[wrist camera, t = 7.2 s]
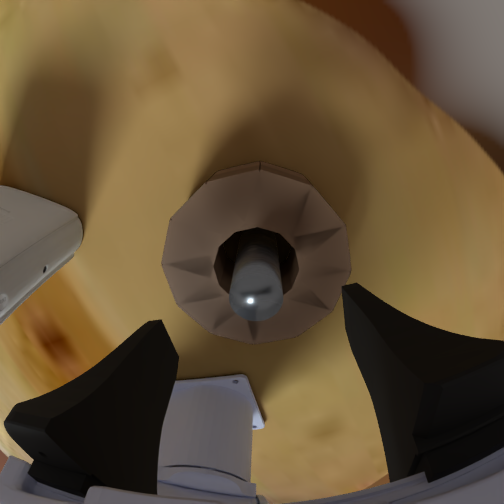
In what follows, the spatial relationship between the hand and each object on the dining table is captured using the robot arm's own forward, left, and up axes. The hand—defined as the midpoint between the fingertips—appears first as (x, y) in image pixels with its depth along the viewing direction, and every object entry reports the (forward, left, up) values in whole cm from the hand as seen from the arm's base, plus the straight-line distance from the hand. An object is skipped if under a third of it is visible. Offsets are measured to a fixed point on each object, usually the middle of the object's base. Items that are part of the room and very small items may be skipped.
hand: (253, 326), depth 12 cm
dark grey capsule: (0, 0, -9) cm, 9 cm away
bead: (0, 0, -9) cm, 9 cm away
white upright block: (-16, +6, -9) cm, 20 cm away
